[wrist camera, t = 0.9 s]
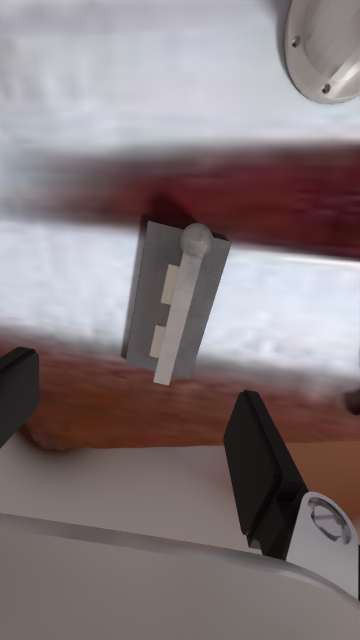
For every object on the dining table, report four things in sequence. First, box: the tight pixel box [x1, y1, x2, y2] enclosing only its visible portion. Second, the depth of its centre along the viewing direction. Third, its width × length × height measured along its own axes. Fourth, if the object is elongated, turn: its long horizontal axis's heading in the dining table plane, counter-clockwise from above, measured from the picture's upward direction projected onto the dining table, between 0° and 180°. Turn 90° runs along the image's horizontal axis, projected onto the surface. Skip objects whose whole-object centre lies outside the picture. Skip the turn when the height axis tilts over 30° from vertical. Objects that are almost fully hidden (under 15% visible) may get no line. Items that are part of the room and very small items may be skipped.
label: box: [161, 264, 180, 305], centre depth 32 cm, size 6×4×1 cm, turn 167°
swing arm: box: [154, 223, 213, 385], centre depth 31 cm, size 24×4×4 cm, turn 167°
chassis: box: [125, 221, 232, 379], centre depth 34 cm, size 24×12×1 cm, turn 167°
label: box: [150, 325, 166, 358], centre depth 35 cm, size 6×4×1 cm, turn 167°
